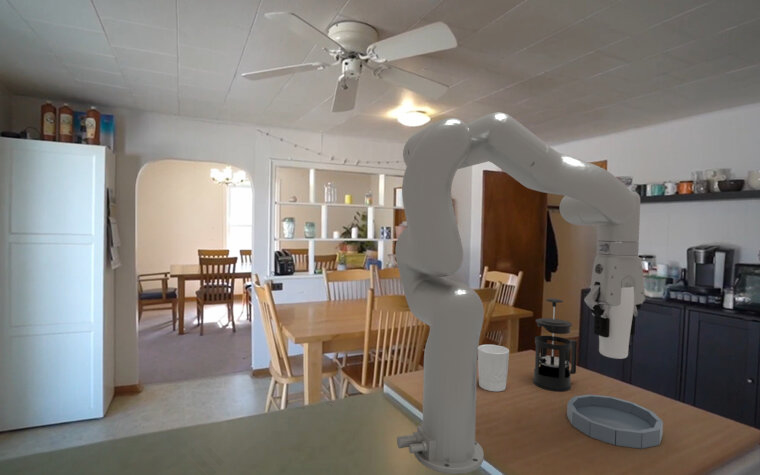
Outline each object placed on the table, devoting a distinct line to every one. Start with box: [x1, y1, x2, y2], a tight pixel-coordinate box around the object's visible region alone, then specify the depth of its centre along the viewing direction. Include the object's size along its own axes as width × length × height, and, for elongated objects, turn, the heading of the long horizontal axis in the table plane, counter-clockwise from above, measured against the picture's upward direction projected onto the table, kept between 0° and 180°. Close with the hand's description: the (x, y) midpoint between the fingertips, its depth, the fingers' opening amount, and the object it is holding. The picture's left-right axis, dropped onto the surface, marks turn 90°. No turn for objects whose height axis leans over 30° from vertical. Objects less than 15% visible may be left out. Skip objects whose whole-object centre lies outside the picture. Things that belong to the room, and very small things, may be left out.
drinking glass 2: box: [598, 287, 634, 360], centre depth 84 cm, size 7×7×15 cm
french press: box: [532, 298, 578, 392], centre depth 107 cm, size 12×9×23 cm
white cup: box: [477, 344, 510, 392], centre depth 105 cm, size 8×8×10 cm
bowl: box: [566, 394, 664, 449], centre depth 85 cm, size 17×17×3 cm
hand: (614, 333), depth 84 cm, fingers closed on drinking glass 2, 6 cm apart
